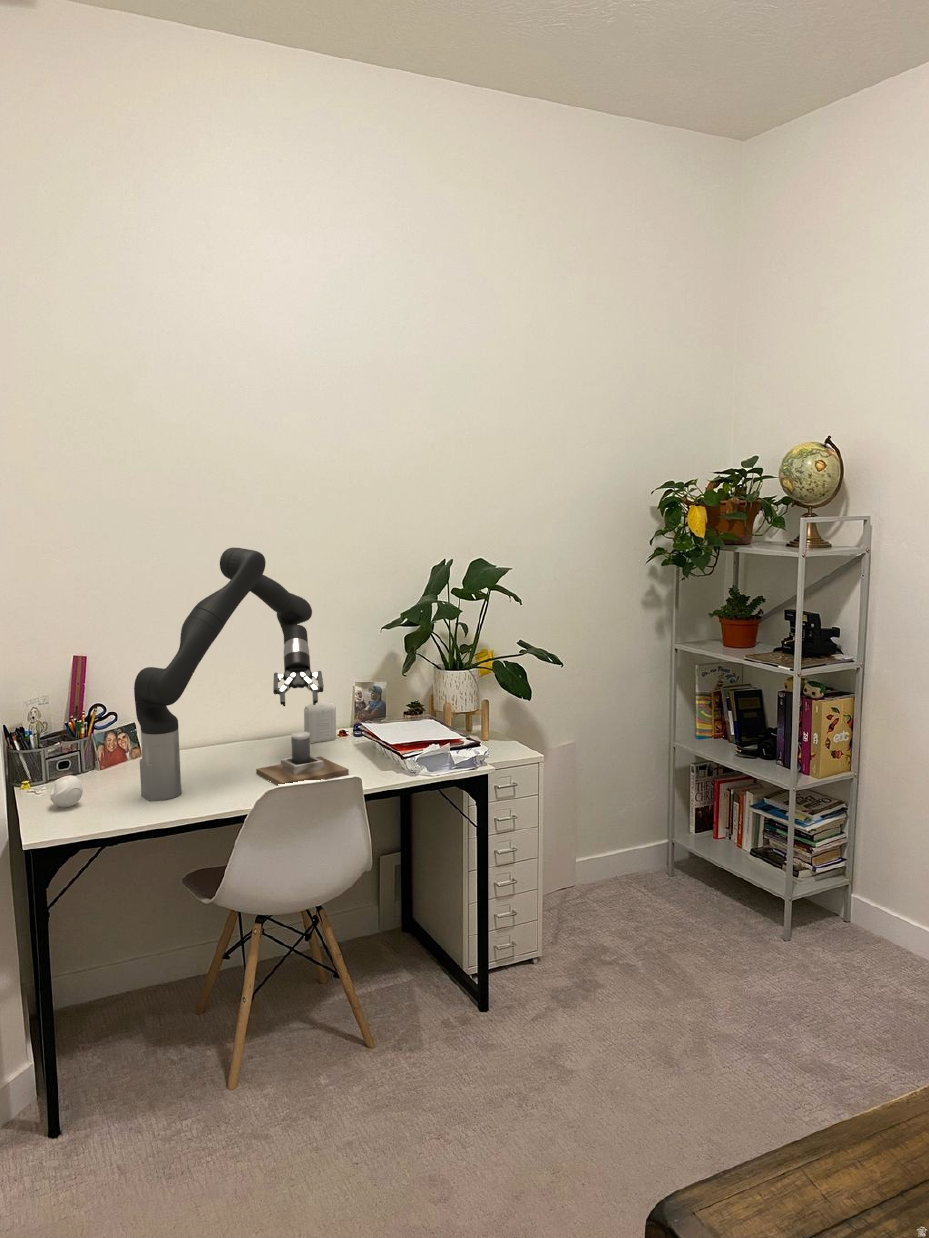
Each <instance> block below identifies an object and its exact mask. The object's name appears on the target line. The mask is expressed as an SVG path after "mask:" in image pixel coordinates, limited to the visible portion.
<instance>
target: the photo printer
mask: <svg viewBox="0 0 929 1238" xmlns="http://www.w3.org/2000/svg"><path fill="white" fill-rule="evenodd" d="M303 728H304V732H309V733H310V744H314V743H320V742H321V741H322V742H327V741H328V742H329V741H335V740H336V739H337V711H336V705H335V703H333V702H330V701H318V702H317V703H316V705H313V702H312V703H310V704H308V705H305V707H304V709H303Z"/></svg>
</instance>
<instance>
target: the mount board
mask: <svg viewBox="0 0 929 1238" xmlns="http://www.w3.org/2000/svg"><path fill="white" fill-rule="evenodd" d="M349 771H350V770H349V769H348V768H346V767H345V766H342V765H340V764H338V763H336V762H333V761H332V760H329V759H327V758H325V757H323V756H314V755H311V754H310V763H305V764H300V765H296V764H294V763H292V756H291V757H287V758H281V759H280V763H279V764H275V765H269V766H263V767H259V768H255V772H256V773H255V774H256V775H257V776H259V777H261V778H262V779H264V780H267V781H268V780H269V781H268V782H270V781H271V782H270V783H272V784H274V785H275V786H277V785H278V784H285V783H293V782H298V781H304V780H320V781H322V780H321V779H325V780H329V779H333V778H334V777H335V778H338V777H343V776H348V775H349V773H350V772H349Z"/></svg>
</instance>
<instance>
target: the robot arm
mask: <svg viewBox="0 0 929 1238" xmlns="http://www.w3.org/2000/svg"><path fill="white" fill-rule="evenodd" d="M265 569H266V557H265V556H264V555H263V553H261V552H260V551H257V550H254V549H249V548H241V547H229V548H227V549H225V550H224V551H223V552H222V554H221V556H220V558H219V570H220V571H221V574H222V575H223V576H224V577H225V578H226V579H229V580H230V581H228V582H227V583H226V584H225V585H224V586H223V587H221V588H220V589H218V590H216V591H215V592H213V593H211V594H209V595H208V596H207V597H205V598H203V599H201V600H200V601H199V602H198V603H196V605H194V607H193V608H192V609H191V611H190V613H189V614H188V615H187V616H186V618H185V620H184V622H183V624H182V626H181V630H180V638H179V639H180V641H179V648H178V650H177V652H176V654H175V656H174V657H173V659H172V660H171V662H170V663H169V664H168V665H167V666H166V667H165V668H162V667H154V666H149V667H147V666H146V667H144V668H142V669H141V670H140V671H139V672H138V673H137V675H136V678H135V680H134V684H133V685H134V686H133V693H134V694H133V695H134V705H135V714H136V719H137V721H138V722H137V723H139V728H140V739H141V740H140V741H141V742H140V744H141V759H140V758H139V759H140V760H139V773H140V774H139V775H140V794H141V796H142V797H143V798H144V799H146V800H148V801H149V802H150V801H151V802H152V801H163V800H170V799H174V798H176V797H179V796H181V794H182V778H181V777H182V776H181V775H182V774H181V756H180V755H181V754H180V753H181V752H180V733H179V732H180V731H179V730H180V729H179V720H178V717H176V716H175V715H174V714H173V713H172V712H171V711H170V710H169V708H168V706H171V705H173V704H175V703H176V702H178V701H179V699H180V698H181V697H182V695H183V693H184V692H185V690H186V689H187V686H188V684H189V683H190V680H191V679H192V678H193V677H192V676H193V675H194V673H195V671H196V669H197V668H198V666H199V664H200V663H201V661H202V659H203V658H204V656H205V655H206V653H208V650H209V649H210V647H211V645H212V644H213V643H214V642H215V640H216V639H217V638H218V636H219V634H220V633H221V632H222V631H223V629H224V627H225V625H226V624H227V622H228V620H229V619H230V618H231V616H232V615H233V614H234V613H235V611H236V609H238V606H240V604H241V603H242V601H243V600H244V599H245V598H246V597H247V595H248V594H250V592H251V593H252V594H254V595H255V596H256V597H257V598H258V599H260V600H261V601H262V602H263V603H264V604H266V605H267V606H268V607H269V608H270V609H271V610H272V611H273V612H275V613H276V619H277V621H278V623H279V625H280V627H281V628H280V629H281V631H282V634H283V666H284V668H283V669H284V673H283V674H279V673H278V672H274V673H273V687H272V688H273V694H274V695H278V696H279V703H280V705H282V707H286V693H287V692H289V690H290V689H291V688H292V689H298V688H299V689H303V688H304V689H305V688H306V690H308V691H310V692H311V693H312V694H311V695H312V703H313V705H316V703H317V702H319V695H318V694H319V693H323V692H324V679H323V674H322V673H323V672H322V671H321V670H318V671H317V672H312V671H311V660H310V659H311V656H310V648H309V641H308V631H307V628H306V627H305V626H304V625H302V623H306V622H308V621H309V620H310V619H311V618H312V615H313V609H312V606H311V604H310V603H309V602H308V601H307V600H306V599H305V598H303V597H301V596H299V595H296V594H294V593H291V592H289V591H288V590H287V589H286V588H285V587H284V586H283V585H281V584H280V583H279V582H278V581H276V580H274V579H272V578H271V577H268V576H267V575H265V574H264V572H265ZM313 678H314V680H315V681H317V684H318V685H315V683H314V682H313V680H312V679H313ZM282 680H283V681H284V682H283V685H282V686H281V687H279V683H280V682H281V681H282Z"/></svg>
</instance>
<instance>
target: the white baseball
mask: <svg viewBox="0 0 929 1238" xmlns="http://www.w3.org/2000/svg"><path fill="white" fill-rule="evenodd" d="M54 783H55V784H54V786H53V788H52V789H51V791H50V794H49V795H50V802H52V803H53V805H55V806H56V807H60V808H69V807H72V806H74V805H76V804H78V803H79V802H80V800H81V798H82V796H83V793H84V788H83V783H82V782H81V780H80V779H79V778H78V777H77V776H75V775H65V776H62V777H60V778H58V779H55V781H54Z"/></svg>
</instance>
